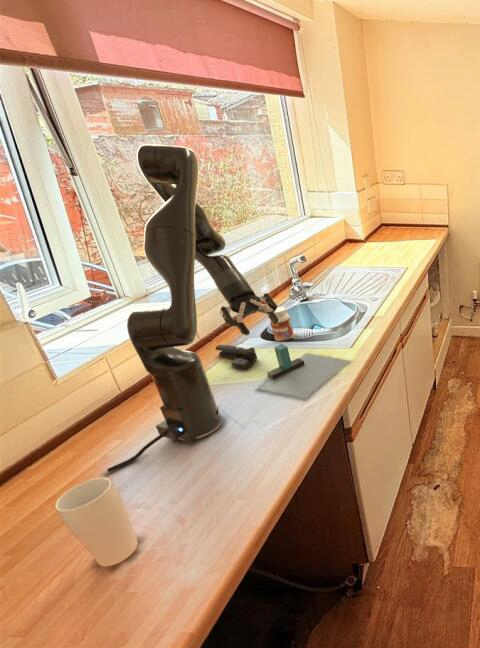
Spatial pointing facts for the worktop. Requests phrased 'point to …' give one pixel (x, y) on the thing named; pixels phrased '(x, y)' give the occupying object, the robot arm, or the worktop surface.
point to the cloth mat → (305, 376)
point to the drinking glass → (98, 520)
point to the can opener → (238, 355)
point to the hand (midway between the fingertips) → (262, 328)
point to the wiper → (284, 362)
